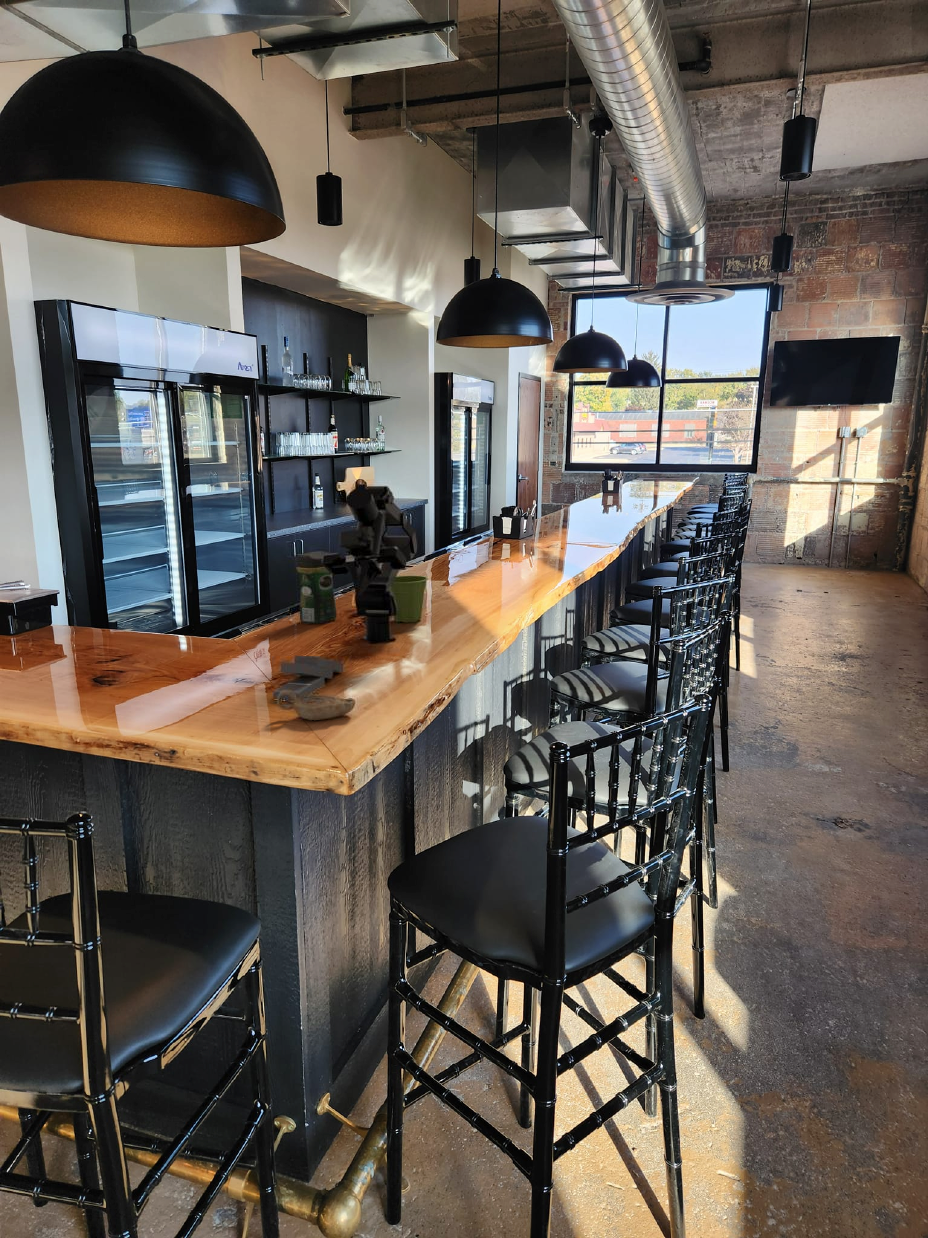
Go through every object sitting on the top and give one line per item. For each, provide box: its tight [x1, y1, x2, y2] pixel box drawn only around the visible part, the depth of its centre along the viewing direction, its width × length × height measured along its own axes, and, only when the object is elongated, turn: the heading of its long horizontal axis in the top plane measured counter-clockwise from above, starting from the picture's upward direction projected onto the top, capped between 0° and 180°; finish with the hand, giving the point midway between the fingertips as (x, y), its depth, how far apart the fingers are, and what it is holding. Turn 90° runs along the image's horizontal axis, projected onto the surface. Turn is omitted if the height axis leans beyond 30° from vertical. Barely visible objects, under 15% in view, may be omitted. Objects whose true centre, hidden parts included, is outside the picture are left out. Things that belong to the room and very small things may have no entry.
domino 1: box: [279, 662, 334, 680], centre depth 152 cm, size 2×5×11 cm
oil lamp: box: [276, 690, 356, 721], centre depth 134 cm, size 13×8×5 cm, turn 90°
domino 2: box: [272, 675, 326, 701], centre depth 147 cm, size 2×5×11 cm
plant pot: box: [391, 575, 429, 624], centre depth 208 cm, size 12×12×11 cm
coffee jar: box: [296, 550, 338, 625], centre depth 208 cm, size 10×8×19 cm
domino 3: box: [293, 655, 345, 673], centre depth 156 cm, size 2×5×11 cm
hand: (358, 594), depth 172 cm, fingers closed
